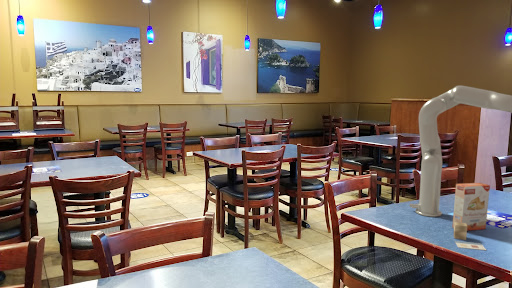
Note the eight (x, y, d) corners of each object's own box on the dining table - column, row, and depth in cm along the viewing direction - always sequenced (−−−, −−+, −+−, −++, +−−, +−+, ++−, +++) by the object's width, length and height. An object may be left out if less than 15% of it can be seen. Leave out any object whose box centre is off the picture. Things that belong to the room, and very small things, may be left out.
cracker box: (461, 232, 173) (465, 186, 170) (451, 227, 179) (454, 183, 176) (486, 229, 176) (490, 184, 174) (476, 225, 182) (479, 182, 180)
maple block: (454, 238, 165) (455, 224, 164) (453, 235, 169) (454, 221, 168) (466, 240, 163) (467, 226, 162) (465, 236, 167) (466, 223, 166)
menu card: (458, 247, 154) (458, 246, 154) (454, 241, 161) (454, 240, 161) (486, 250, 152) (486, 249, 152) (481, 244, 158) (481, 243, 158)
